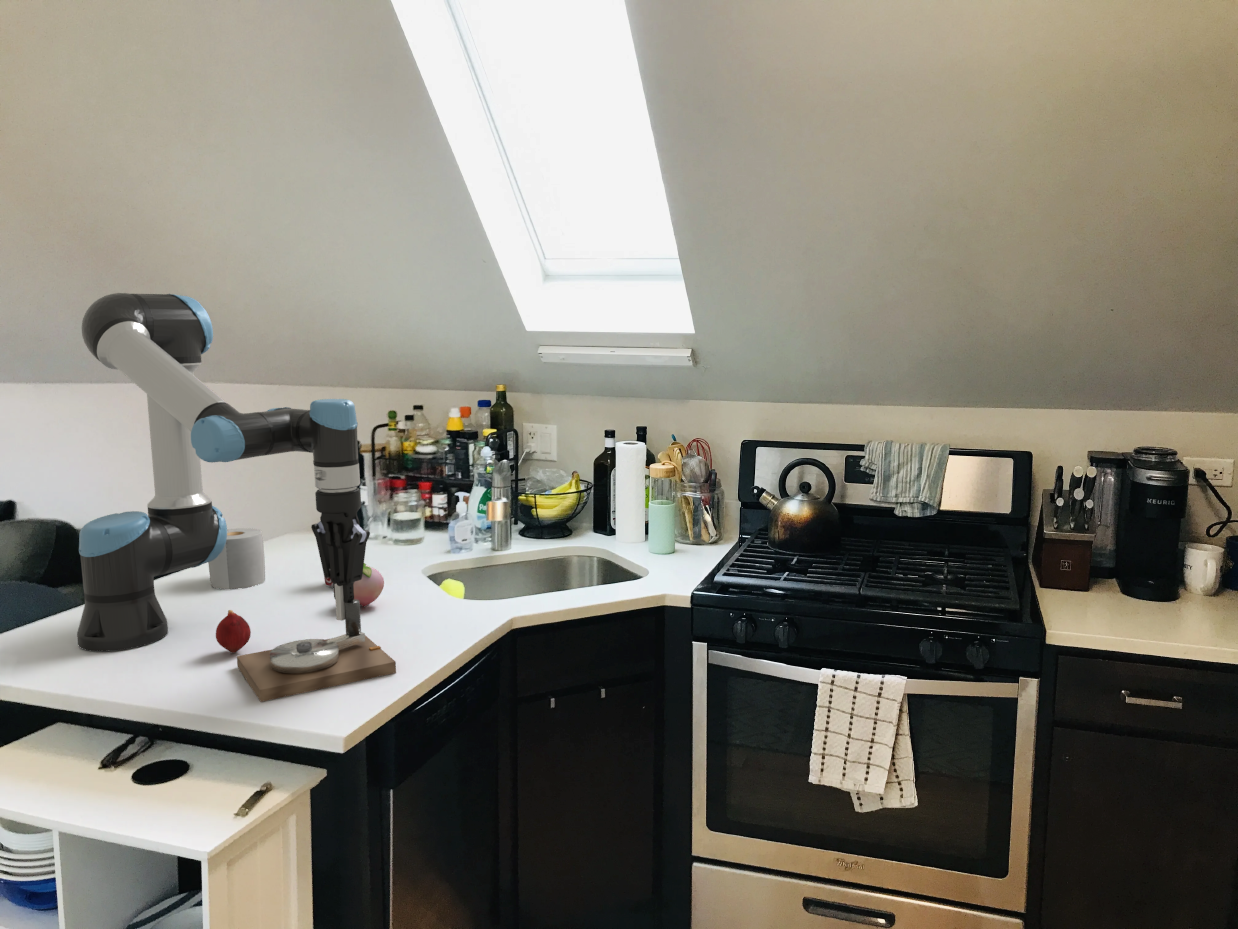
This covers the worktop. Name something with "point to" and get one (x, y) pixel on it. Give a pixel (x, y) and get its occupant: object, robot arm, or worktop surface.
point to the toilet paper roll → (239, 560)
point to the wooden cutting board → (349, 668)
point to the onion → (233, 632)
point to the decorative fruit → (368, 586)
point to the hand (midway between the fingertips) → (345, 617)
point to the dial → (318, 647)
